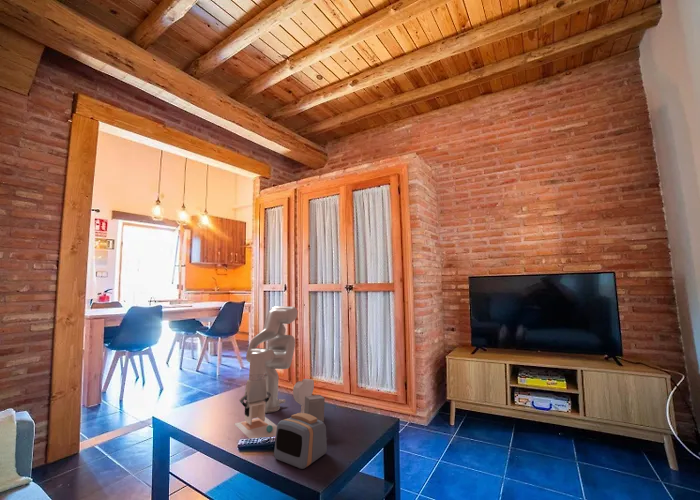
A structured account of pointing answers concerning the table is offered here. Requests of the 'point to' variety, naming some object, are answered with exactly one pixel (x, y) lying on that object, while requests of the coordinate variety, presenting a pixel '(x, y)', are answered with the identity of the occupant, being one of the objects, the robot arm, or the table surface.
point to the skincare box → (315, 406)
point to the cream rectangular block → (256, 411)
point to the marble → (269, 428)
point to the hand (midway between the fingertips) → (254, 413)
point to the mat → (257, 428)
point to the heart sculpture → (303, 391)
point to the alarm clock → (300, 440)
